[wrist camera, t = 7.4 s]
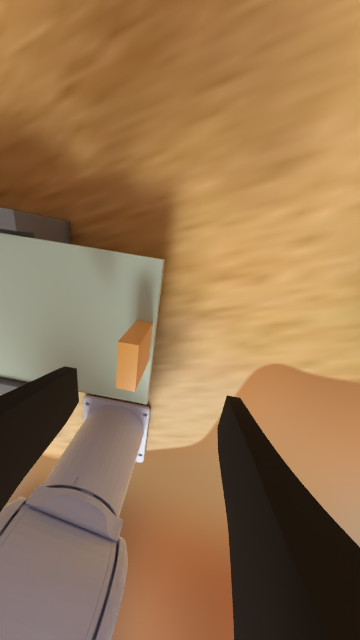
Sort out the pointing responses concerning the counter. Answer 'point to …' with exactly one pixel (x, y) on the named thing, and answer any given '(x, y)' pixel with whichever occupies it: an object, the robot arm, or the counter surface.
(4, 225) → the parts tub
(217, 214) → the counter surface
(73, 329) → the lid
